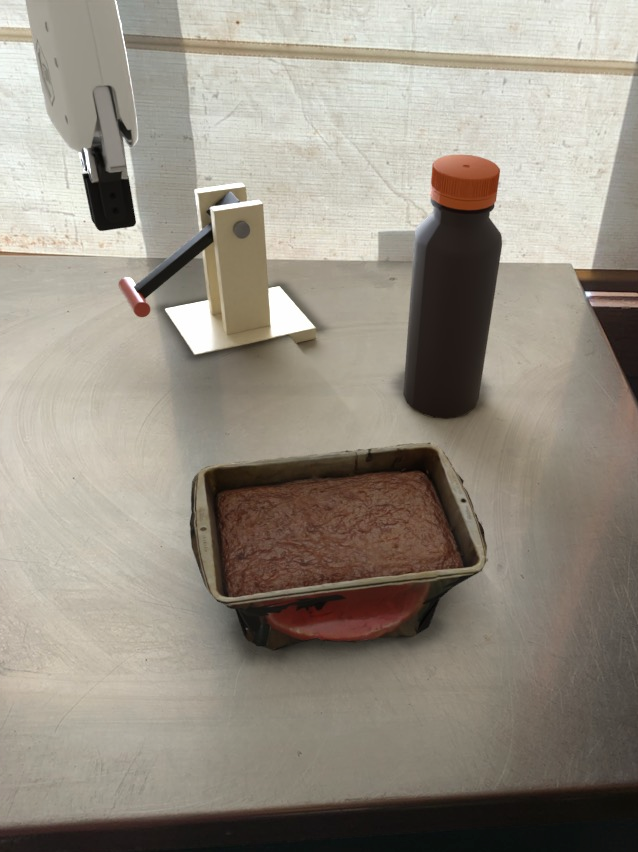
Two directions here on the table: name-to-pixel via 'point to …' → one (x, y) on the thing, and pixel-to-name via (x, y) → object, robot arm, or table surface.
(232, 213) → the bracket
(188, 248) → the lever
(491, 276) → the bottle
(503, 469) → the table surface
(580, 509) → the table surface
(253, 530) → the baking dish
